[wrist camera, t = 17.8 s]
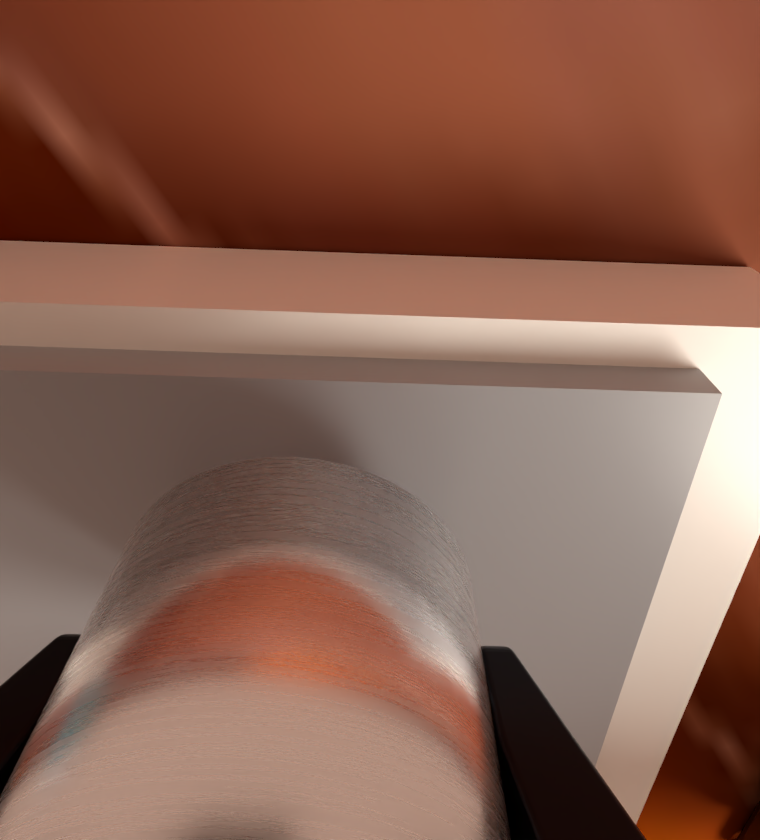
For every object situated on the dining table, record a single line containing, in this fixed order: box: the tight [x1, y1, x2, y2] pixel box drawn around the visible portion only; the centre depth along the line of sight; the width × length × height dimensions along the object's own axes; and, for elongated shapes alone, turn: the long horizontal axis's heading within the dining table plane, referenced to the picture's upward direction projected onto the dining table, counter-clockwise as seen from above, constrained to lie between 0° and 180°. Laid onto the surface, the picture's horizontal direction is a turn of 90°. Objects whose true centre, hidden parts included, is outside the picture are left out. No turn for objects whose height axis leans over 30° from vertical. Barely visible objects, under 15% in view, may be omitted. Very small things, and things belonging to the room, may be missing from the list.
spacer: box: [0, 457, 511, 840], centre depth 7 cm, size 5×5×5 cm
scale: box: [0, 240, 760, 824], centre depth 15 cm, size 22×16×4 cm
